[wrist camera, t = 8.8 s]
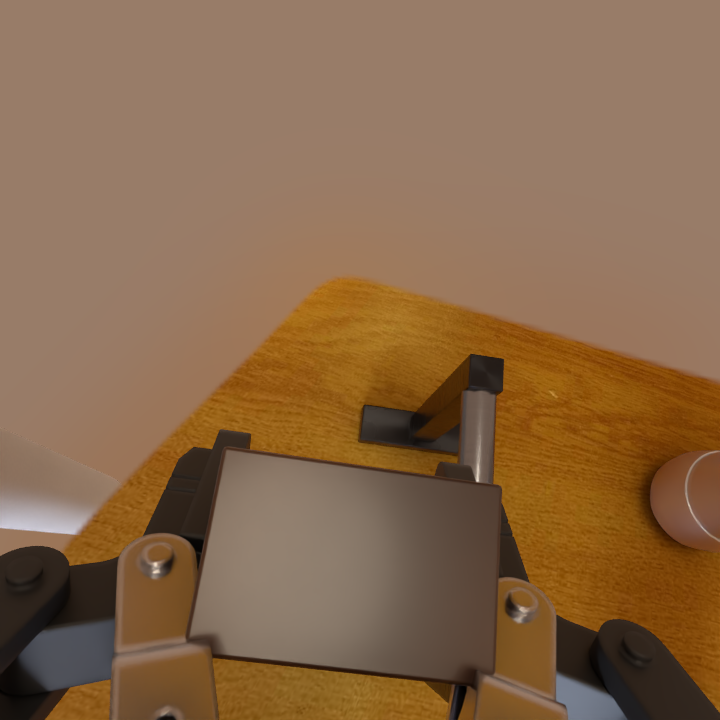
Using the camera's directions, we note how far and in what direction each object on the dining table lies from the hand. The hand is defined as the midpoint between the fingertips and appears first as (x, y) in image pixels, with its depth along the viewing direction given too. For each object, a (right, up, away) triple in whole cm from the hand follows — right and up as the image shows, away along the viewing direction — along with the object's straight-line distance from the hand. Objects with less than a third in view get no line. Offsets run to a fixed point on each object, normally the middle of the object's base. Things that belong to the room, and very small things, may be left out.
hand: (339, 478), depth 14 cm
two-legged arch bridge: (-1, -4, +5) cm, 6 cm away
